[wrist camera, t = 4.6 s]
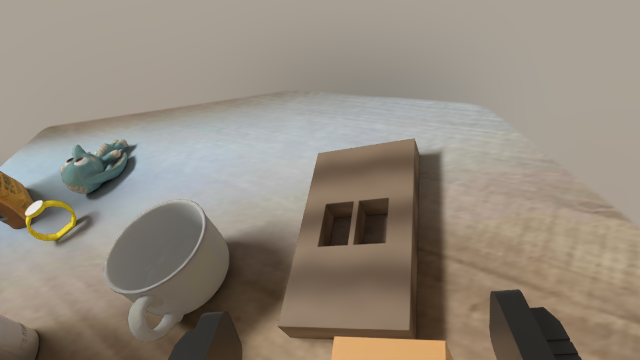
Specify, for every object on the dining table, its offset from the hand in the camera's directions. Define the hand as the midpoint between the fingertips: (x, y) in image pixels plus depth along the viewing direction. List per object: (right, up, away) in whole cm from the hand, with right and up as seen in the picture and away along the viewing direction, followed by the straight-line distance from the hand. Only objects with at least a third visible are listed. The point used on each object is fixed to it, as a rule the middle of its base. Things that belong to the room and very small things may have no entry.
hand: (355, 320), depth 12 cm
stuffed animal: (-37, +5, +55) cm, 67 cm away
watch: (-39, -3, +48) cm, 62 cm away
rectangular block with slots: (+3, -1, +27) cm, 27 cm away
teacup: (-14, -8, +30) cm, 34 cm away
